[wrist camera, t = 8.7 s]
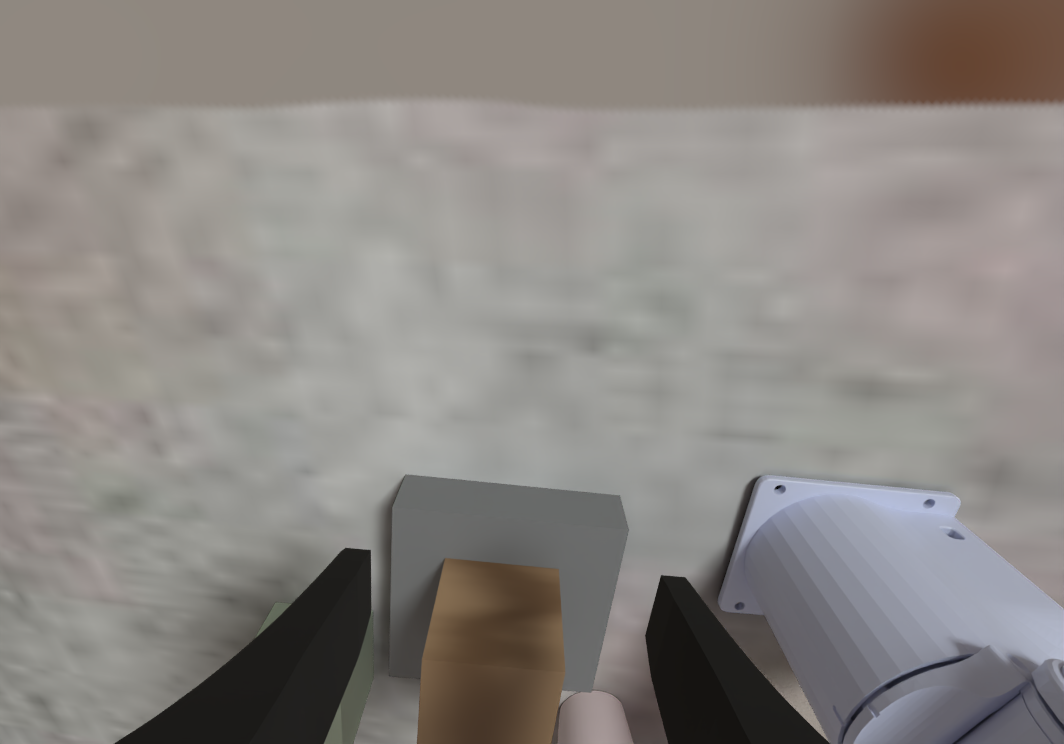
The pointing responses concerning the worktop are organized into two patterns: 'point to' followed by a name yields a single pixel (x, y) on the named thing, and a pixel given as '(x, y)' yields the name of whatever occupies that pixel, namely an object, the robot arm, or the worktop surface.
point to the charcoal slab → (505, 558)
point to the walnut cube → (492, 656)
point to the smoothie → (593, 720)
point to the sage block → (357, 688)
